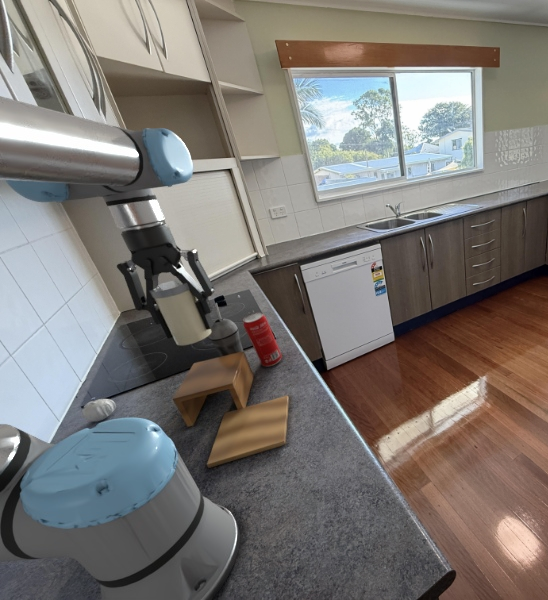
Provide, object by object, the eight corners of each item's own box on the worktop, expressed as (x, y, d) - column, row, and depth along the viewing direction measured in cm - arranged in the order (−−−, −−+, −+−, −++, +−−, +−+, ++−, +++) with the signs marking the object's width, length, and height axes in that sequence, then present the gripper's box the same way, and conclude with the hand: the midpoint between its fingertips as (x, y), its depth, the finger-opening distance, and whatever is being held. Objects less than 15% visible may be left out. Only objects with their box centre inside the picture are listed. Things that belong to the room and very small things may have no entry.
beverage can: (285, 354, 92) (270, 309, 86) (275, 368, 86) (258, 320, 80) (266, 355, 93) (250, 311, 87) (255, 369, 87) (237, 322, 81)
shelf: (244, 411, 72) (232, 383, 68) (187, 427, 69) (172, 399, 66) (253, 375, 84) (243, 350, 81) (205, 388, 82) (193, 363, 79)
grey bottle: (218, 375, 87) (189, 311, 78) (237, 360, 93) (212, 299, 85) (239, 377, 84) (211, 311, 76) (257, 361, 90) (233, 299, 82)
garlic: (86, 430, 73) (74, 413, 71) (89, 418, 77) (77, 401, 75) (118, 416, 76) (107, 399, 74) (119, 405, 80) (109, 389, 78)
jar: (207, 340, 67) (183, 286, 62) (169, 349, 65) (141, 294, 60) (216, 325, 73) (195, 275, 68) (182, 333, 72) (158, 283, 67)
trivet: (285, 444, 61) (284, 440, 61) (208, 468, 58) (206, 464, 58) (289, 398, 74) (287, 395, 73) (226, 416, 71) (224, 412, 70)
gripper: (205, 215, 65) (242, 313, 74) (96, 232, 61) (148, 334, 70) (194, 219, 58) (236, 327, 67) (69, 239, 54) (131, 351, 63)
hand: (191, 330), depth 69 cm, fingers closed on jar, 7 cm apart
